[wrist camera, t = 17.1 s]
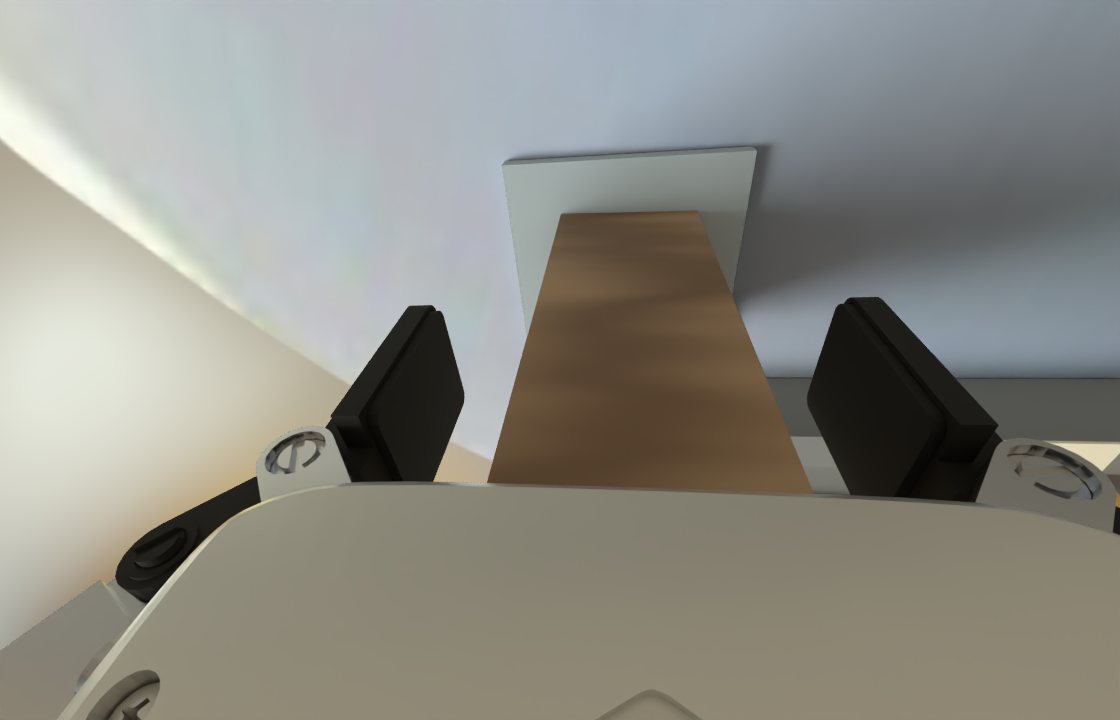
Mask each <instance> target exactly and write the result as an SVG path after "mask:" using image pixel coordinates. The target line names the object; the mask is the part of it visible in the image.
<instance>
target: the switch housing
mask: <svg viewBox="0 0 1120 720" xmlns="http://www.w3.org/2000/svg"><path fill="white" fill-rule="evenodd" d="M766 379H767V381H768V384H769V386H770V389H771V391H772V393H773V396H774V398H775V401H776V403H777V405H778V408H779V410H780V413H781V415H782V418H783V420H784V422H785V425H786V427H787V430H788V432H789V435H790V437H791V439H792V442H793V444H794V447H795V449H796V452H797V454H798V456H799V459H800V461H801V464H802V466H803V469H804V471H805V473H806V476H807V478H808V481H809V483H810V485H811V488H812V490H813V493H814V494H834V495H850V493H849V491H848V489H847V487H846V485H845V483H844V481H843V478H842V476H841V474H840V472H839V470H838V468H837V466H836V464H835V462H834V460H833V458H832V456H831V454H830V452H829V450H828V448H827V446H826V443H825V441H824V439H823V437H822V435H821V433H820V431H819V429H818V427H817V425H816V423H815V421H814V419H813V417H812V415H811V413H810V411H809V408H808V405H807V393H808V390H809V387H810V384H811V381H812V378H766ZM956 380H957V381H958V382H959V383H960V384H961V385H962V386H963V387H964V388H965V389H966V390H967V391H968V392H969V393H970V395H971V396H972V397H973V398H974V399H975V400H976V401H977V402H978V403H979V404H980V405H981V406H982V407H983V409H984V410H985V411H986V412H987V413H988V414H989V415H990V416H991V417H992V418H993V419H994V420H995V421H996V423H997V424H998V425H999V426H998V427H997V429H996V430H995V432H996V433H997V434H998V435H999V437H1000V438H1001V439H1002V440H1003V441H1006V440H1008V439H1014V438H1028V439H1034V440H1041V441H1044V442H1048V443H1051V444H1054V445H1058V446H1060V447H1063V448H1065V449H1067V450H1069V451H1072V452H1074V453H1076V454H1078V455H1080V456H1081V457H1083V458H1084V459H1086V460H1088V461H1089V462H1091V463H1093V464H1094V465H1095V466H1096V467H1098V468H1099V469H1100V470H1101V471H1102V472H1103V473H1105V474H1106V475H1107V477H1108V478H1109V479H1110V481H1111V482H1112V483H1113V485H1114V486H1115V491H1116V492H1117V493H1118V494H1119V495H1120V379H956Z"/></svg>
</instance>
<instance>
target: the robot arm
mask: <svg viewBox="0 0 1120 720" xmlns="http://www.w3.org/2000/svg"><path fill="white" fill-rule="evenodd" d="M463 404H464V390H463V386H462V382H461V379H460V375H459V371H458V368H457V364H456V360H455V357H454V353H453V349H452V346H451V342H450V338H449V335H448V331H447V327H446V324H445V320H444V316H443V314H442V312H441V311H436V309H435V308H434V306H432V305H423V306H409V307H408V308H407V309H406V310H405V312H404V313H403V315H402V316H401V317H400V319H399V320H398V322H397V323H396V325H395V326H394V327H393V329H392V330H391V332H390V333H389V334H388V336H387V337H386V339H385V340H384V341H383V343H382V344H381V346H380V347H379V348H378V350H377V351H376V353H375V354H374V355H373V357H372V358H371V360H370V361H369V362H368V364H367V365H366V367H365V368H364V370H363V371H362V372H361V374H360V375H359V377H358V378H357V379H356V381H355V382H354V384H353V385H352V386H351V388H350V389H349V391H348V392H347V393H346V395H345V397H344V398H343V399H342V401H341V402H340V403H339V405H338V406H337V408H336V409H335V410H334V412H333V413H332V414H331V417H332V419H331V420H330V422H329V423H328V425H327V426H326V427H325V428H324V427H320V426H309V427H301V428H298V429H295V430H293V431H290V432H288V433H286V434H284V435H282V436H280V437H279V438H277V439H276V440H275V441H273V442H272V443H271V444H269V445H268V446H267V448H265V450H264V451H263V452H262V453H261V455H260V457H259V458H258V460H257V464H256V473H257V476H256V477H254V478H252V479H250V480H248V481H246V482H244V483H242V484H240V485H238V486H236V487H234V488H232V489H230V490H228V491H226V492H224V493H222V494H220V495H218V496H216V497H214V498H212V499H210V500H208V501H206V502H204V503H202V504H200V505H198V506H197V507H195V508H193V509H191V510H189V511H187V512H185V513H183V514H181V515H179V516H177V517H175V518H173V519H171V520H169V521H167V522H165V523H163V524H161V525H159V526H158V527H156V528H154V529H153V530H151V531H149V532H148V533H147V534H145V535H144V536H143V537H142V538H140V539H139V540H138V541H137V542H136V543H134V545H133V546H132V547H131V548H130V549H129V550H128V551H127V552H126V554H125V555H124V556H123V558H122V560H121V561H120V563H119V565H118V567H117V571H116V575H115V577H116V578H115V579H113V580H112V581H110V582H109V583H108V584H106V583H104V582H103V581H101V580H99V581H98V582H96V583H95V584H93V585H92V586H90V587H89V588H88V589H86V590H85V591H83V592H82V593H81V594H79V595H78V596H76V597H75V598H74V599H72V600H71V601H69V602H68V603H67V604H65V605H64V606H62V607H61V608H59V609H58V610H57V611H55V612H54V613H53V614H51V615H50V616H48V617H47V618H45V619H44V620H43V621H41V622H40V623H39V624H37V625H36V626H34V627H33V628H31V629H30V630H29V631H27V632H26V633H24V634H23V635H21V636H20V637H19V638H17V639H16V640H14V641H13V642H12V643H10V644H9V645H8V646H6V647H5V648H3V649H2V650H0V720H1120V508H1119V507H1117V506H1116V499H1117V495H1116V491H1115V486H1114V485H1113V483H1112V482H1111V481H1110V479H1109V478H1108V477H1107V475H1106V474H1105V473H1103V472H1102V471H1101V470H1100V469H1099V468H1098V467H1096V466H1095V465H1094V464H1093V463H1091V462H1089V461H1088V460H1086V459H1084V458H1083V457H1081V456H1080V455H1078V454H1076V453H1074V452H1072V451H1069V450H1067V449H1065V448H1063V447H1060V446H1058V445H1054V444H1051V443H1048V442H1044V441H1041V440H1034V439H1028V438H1014V439H1008V440H1006V441H1003V440H1002V439H1001V438H1000V437H999V435H998V434H997V433H996V432H995V430H996V429H997V427H998V426H999V425H998V424H997V423H996V421H995V420H994V419H993V418H992V417H991V416H990V415H989V414H988V413H987V412H986V411H985V410H984V409H983V407H982V406H981V405H980V404H979V403H978V402H977V401H976V400H975V399H974V398H973V397H972V396H971V395H970V393H969V392H968V391H967V390H966V389H965V388H964V387H963V386H962V385H961V384H960V383H959V382H958V381H957V380H956V378H955V377H954V376H953V375H952V374H951V373H950V372H949V371H948V370H947V369H946V368H945V367H944V366H943V364H942V363H941V362H940V361H939V360H938V359H937V358H936V357H935V356H934V355H933V354H932V353H931V352H930V350H929V349H928V348H927V347H926V346H925V345H924V344H923V343H922V342H921V341H920V340H919V339H918V338H917V336H916V335H915V334H914V333H913V332H912V331H911V330H910V329H909V328H908V327H907V326H906V325H905V324H904V322H903V321H902V320H901V319H900V318H899V317H898V316H897V315H896V314H895V313H894V312H893V311H892V310H891V308H890V307H889V306H888V305H887V304H886V303H885V302H884V301H883V300H882V299H881V298H879V297H854V298H849V299H847V300H846V301H845V303H844V304H839V305H838V306H837V307H836V309H835V312H834V315H833V318H832V321H831V324H830V327H829V330H828V333H827V336H826V339H825V342H824V345H823V348H822V351H821V354H820V357H819V360H818V363H817V366H816V369H815V372H814V375H813V378H812V381H811V384H810V387H809V390H808V393H807V405H808V408H809V411H810V413H811V415H812V417H813V419H814V421H815V423H816V425H817V427H818V429H819V431H820V433H821V435H822V437H823V439H824V441H825V443H826V446H827V448H828V450H829V452H830V454H831V456H832V458H833V460H834V462H835V464H836V466H837V468H838V470H839V472H840V474H841V476H842V478H843V481H844V483H845V485H846V487H847V489H848V491H849V493H850V495H834V494H808V493H781V492H755V491H728V490H700V489H670V488H640V487H609V486H577V485H541V484H505V483H467V482H433V480H434V478H435V475H436V473H437V470H438V467H439V465H440V463H441V460H442V457H443V455H444V453H445V450H446V447H447V445H448V442H449V440H450V437H451V435H452V432H453V430H454V427H455V424H456V422H457V419H458V417H459V414H460V412H461V409H462V407H463Z"/></svg>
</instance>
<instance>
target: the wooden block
mask: <svg viewBox="0 0 1120 720" xmlns="http://www.w3.org/2000/svg"><path fill="white" fill-rule="evenodd" d="M487 483H505V484H541V485H577V486H609V487H640V488H670V489H700V490H728V491H755V492H781V493H808V494H814V493H813V490H812V488H811V485H810V483H809V481H808V478H807V476H806V473H805V471H804V469H803V466H802V464H801V461H800V459H799V456H798V454H797V452H796V449H795V447H794V444H793V442H792V439H791V437H790V435H789V432H788V430H787V427H786V425H785V422H784V420H783V418H782V415H781V413H780V410H779V408H778V405H777V403H776V401H775V398H774V396H773V393H772V391H771V389H770V386H769V384H768V381H767V379H766V376H765V374H764V372H763V369H762V367H761V364H760V362H759V359H758V357H757V355H756V352H755V350H754V347H753V345H752V342H751V340H750V338H749V335H748V333H747V330H746V328H745V326H744V323H743V321H742V318H741V316H740V313H739V311H738V309H737V306H736V304H735V301H734V299H733V296H732V294H731V292H730V289H729V287H728V284H727V282H726V279H725V277H724V275H723V272H722V270H721V267H720V265H719V262H718V260H717V258H716V255H715V253H714V250H713V248H712V246H711V243H710V241H709V238H708V236H707V233H706V231H705V229H704V226H703V224H702V221H701V219H700V216H699V214H698V212H697V211H656V212H615V213H575V214H561V215H560V219H559V223H558V226H557V230H556V234H555V237H554V241H553V245H552V248H551V252H550V256H549V259H548V263H547V266H546V270H545V274H544V277H543V281H542V285H541V288H540V292H539V296H538V299H537V303H536V306H535V310H534V314H533V317H532V321H531V325H530V328H529V332H528V336H527V339H526V343H525V347H524V350H523V354H522V357H521V361H520V365H519V368H518V372H517V376H516V379H515V383H514V387H513V390H512V394H511V398H510V401H509V405H508V408H507V412H506V416H505V419H504V423H503V427H502V430H501V434H500V438H499V441H498V445H497V448H496V452H495V456H494V459H493V464H492V467H491V470H490V474H489V478H488V481H487Z"/></svg>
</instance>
